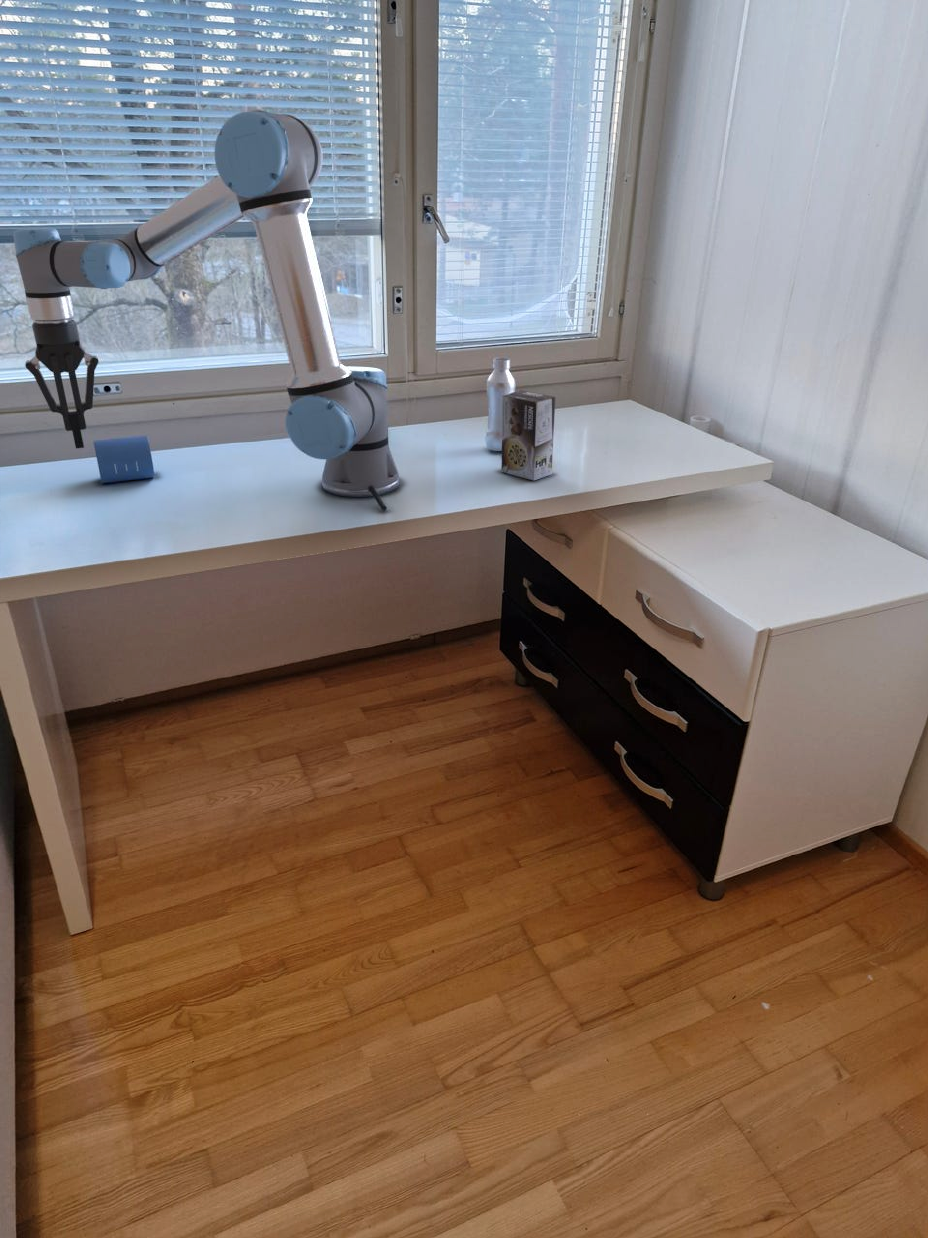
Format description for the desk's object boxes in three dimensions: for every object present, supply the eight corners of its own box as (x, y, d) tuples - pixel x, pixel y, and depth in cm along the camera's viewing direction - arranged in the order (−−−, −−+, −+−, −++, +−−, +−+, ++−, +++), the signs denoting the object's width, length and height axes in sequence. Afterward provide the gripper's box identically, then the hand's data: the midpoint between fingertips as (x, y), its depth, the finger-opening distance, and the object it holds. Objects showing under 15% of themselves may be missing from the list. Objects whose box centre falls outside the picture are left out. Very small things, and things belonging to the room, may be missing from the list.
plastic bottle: (519, 448, 196) (522, 358, 187) (504, 456, 191) (507, 363, 182) (494, 444, 199) (496, 354, 190) (479, 451, 194) (480, 359, 185)
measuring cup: (150, 467, 181) (144, 429, 177) (156, 483, 175) (149, 444, 170) (99, 473, 178) (92, 434, 173) (103, 490, 171) (95, 450, 167)
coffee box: (553, 474, 180) (557, 396, 173) (533, 481, 176) (537, 401, 169) (519, 465, 186) (521, 388, 178) (499, 471, 182) (501, 394, 174)
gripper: (90, 315, 164) (113, 437, 175) (14, 319, 160) (43, 444, 171) (92, 320, 158) (116, 447, 169) (14, 325, 154) (43, 455, 165)
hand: (79, 446), depth 170 cm, fingers closed
